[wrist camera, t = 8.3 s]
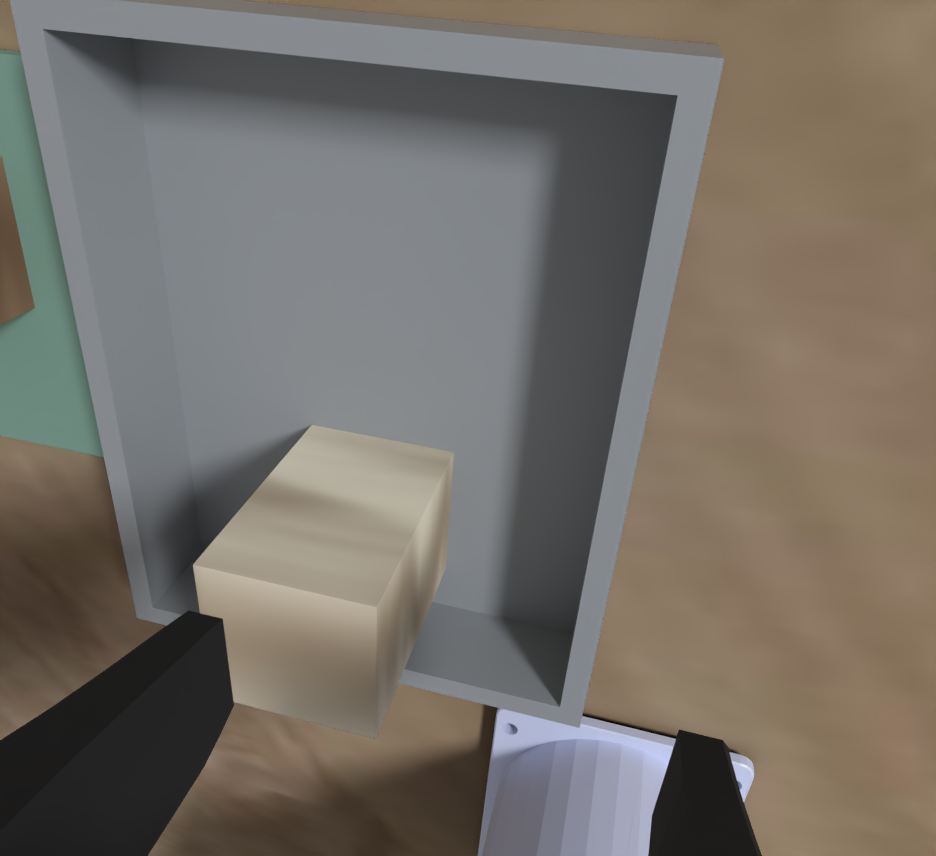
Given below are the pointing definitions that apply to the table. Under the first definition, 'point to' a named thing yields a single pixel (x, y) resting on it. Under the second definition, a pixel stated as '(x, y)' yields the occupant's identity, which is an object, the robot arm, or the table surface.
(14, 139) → the mat
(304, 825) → the table surface
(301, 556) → the birch block
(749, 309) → the table surface
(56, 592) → the table surface
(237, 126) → the tray
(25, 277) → the walnut block
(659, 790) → the robot arm
